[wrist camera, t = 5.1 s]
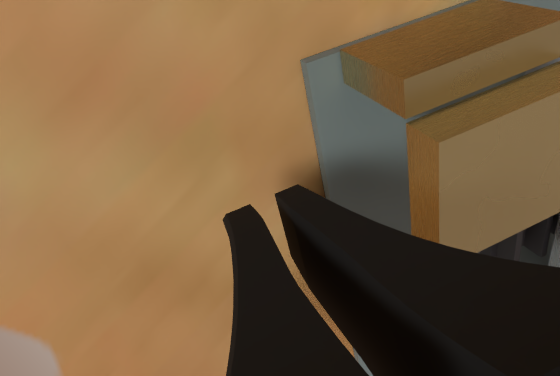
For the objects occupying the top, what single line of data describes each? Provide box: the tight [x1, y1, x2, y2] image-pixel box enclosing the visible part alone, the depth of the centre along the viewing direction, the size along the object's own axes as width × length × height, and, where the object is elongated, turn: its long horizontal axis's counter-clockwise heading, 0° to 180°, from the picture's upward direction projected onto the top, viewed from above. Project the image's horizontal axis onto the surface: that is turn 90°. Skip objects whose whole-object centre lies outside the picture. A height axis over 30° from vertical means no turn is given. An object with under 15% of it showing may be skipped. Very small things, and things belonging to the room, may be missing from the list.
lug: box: [339, 0, 560, 253], centre depth 13 cm, size 5×5×4 cm
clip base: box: [300, 0, 560, 376], centre depth 18 cm, size 17×18×4 cm
